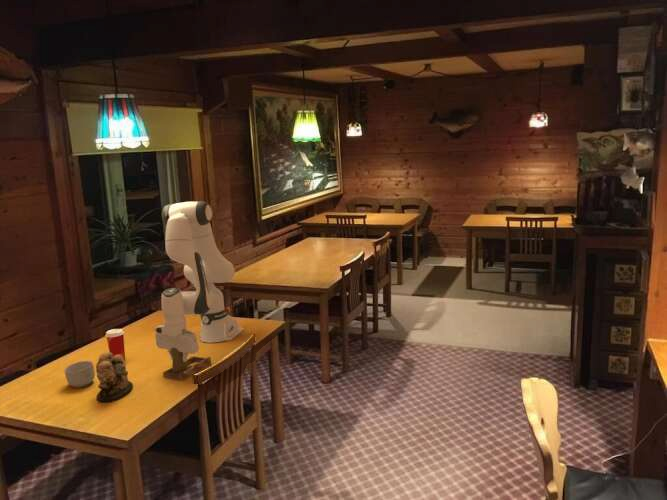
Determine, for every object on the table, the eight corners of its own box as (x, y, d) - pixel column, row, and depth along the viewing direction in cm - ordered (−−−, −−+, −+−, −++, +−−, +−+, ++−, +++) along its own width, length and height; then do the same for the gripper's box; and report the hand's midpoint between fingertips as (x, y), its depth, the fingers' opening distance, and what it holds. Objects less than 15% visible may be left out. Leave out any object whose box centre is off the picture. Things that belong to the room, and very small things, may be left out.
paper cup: (115, 357, 253) (111, 328, 251) (131, 357, 252) (127, 328, 249) (105, 364, 246) (101, 334, 243) (121, 364, 244) (117, 334, 241)
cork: (182, 374, 227) (180, 349, 225) (169, 373, 229) (166, 348, 226) (189, 368, 233) (187, 343, 231) (176, 367, 234) (174, 343, 232)
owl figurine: (119, 404, 207) (113, 361, 204) (89, 405, 208) (82, 362, 205) (139, 382, 225) (133, 342, 221) (110, 383, 226) (104, 343, 222)
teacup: (92, 388, 222) (89, 369, 220) (63, 391, 220) (60, 372, 219) (100, 374, 236) (97, 356, 234) (73, 377, 234) (70, 359, 232)
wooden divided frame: (193, 360, 245) (192, 351, 244) (211, 363, 241) (210, 354, 240) (163, 377, 229) (162, 367, 228) (181, 380, 225) (180, 371, 224)
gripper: (200, 328, 225) (203, 361, 228) (162, 323, 235) (166, 354, 238) (189, 334, 220) (193, 366, 223) (151, 328, 229) (155, 359, 232)
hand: (179, 360), depth 230 cm, fingers closed on cork, 4 cm apart
